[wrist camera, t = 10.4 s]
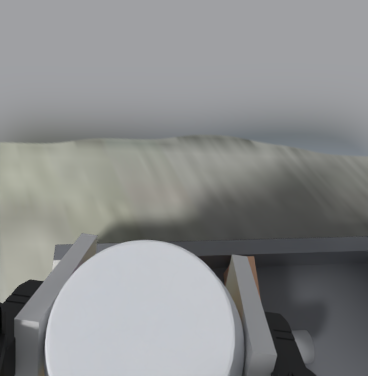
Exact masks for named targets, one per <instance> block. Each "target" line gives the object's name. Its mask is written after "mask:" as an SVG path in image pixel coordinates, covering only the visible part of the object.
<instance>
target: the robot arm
mask: <svg viewBox="0 0 368 376" xmlns="http://www.w3.org/2000/svg"><path fill="white" fill-rule="evenodd" d="M97 236H98V235H91V234H84V233H82V234H81V235H80V237H79V238H78V239H77V240H76V242H75V243H74V244H73V245H72V247H71V248H70V249H69V250H68V252H67V253H66V254H65V255H64V257H63V258H62V259H61V260H60V262H59V263H58V264H57V266H56V267H55V268H54V269H53V271H52V272H51V273H50V274H49V276H48V277H47V278H46V279H45V281H37V280H28V281H26V282H25V283H23V284H21V285H19V286H18V287H17V288H16V289H15V290H14V292H13V293H12V294H11V295H10V296H9V297H8V298H7V299H6V301H5V302H4V303H3V304H2V303H0V376H45V375H44V347H45V339H46V329H47V325H48V320H49V317H50V313H51V310H52V307H53V305H54V302H55V300H56V298H57V296H58V294H59V292H60V291H61V289H62V288H63V286H64V284H65V283H66V282H67V280H68V279H69V278H70V277H71V275H72V274H73V273H74V272H75V271H76V270H77V269H78V268H79V267H80V266H81V265H82V264H83V263H85V262H86V261H87V260H88V259H90V258H91V257H93V256H94V255H96V249H97ZM226 288H227V290H228V292H229V293H230V295H231V297H232V299H233V301H234V303H235V305H236V308H237V310H238V313H239V316H240V319H241V323H242V328H243V334H244V345H245V354H244V367H243V373H242V376H316V375H315V374H314V373H313V372H312V371H311V370H309V369H308V368H306V366H305V363H304V361H303V358H302V356H301V353H300V351H299V348H298V346H297V343H296V341H295V338H294V336H293V334H292V330H291V328H290V325H289V323H288V322H287V321H286V319H285V318H284V317H283V316H282V315H281V314H279V313H272V312H265V311H264V310H263V307H262V304H261V300H260V297H259V294H258V291H257V287H256V284H255V281H254V277H253V274H252V271H251V267H250V264H249V261H248V258H247V256H240V255H233V254H232V256H231V261H230V266H229V272H228V277H227V282H226Z"/></svg>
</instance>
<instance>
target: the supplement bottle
mask: <svg viewBox="0 0 368 376" xmlns="http://www.w3.org/2000/svg"><path fill="white" fill-rule="evenodd" d="M244 354H245V345H244V334H243V328H242V323H241V319H240V316H239V313H238V310H237V308H236V305H235V303H234V301H233V299H232V297H231V295H230V293H229V292H228V290H227V288H226V287H225V286H224V284H223V283H222V282H221V280H220V279H219V278H218V277H217V276H216V274H215V273H214V272H213V271H212V270H211V269H210V268H209V267H208V266H207V265H206V264H205V263H204V262H203V261H202V260H201V259H200V258H198V257H197V256H196V255H194V254H193V253H191V252H189V251H188V250H186V249H184V248H182V247H180V246H177V245H174V244H171V243H168V242H163V241H157V240H135V241H128V242H124V243H120V244H117V245H114V246H111V247H109V248H106V249H104V250H102V251H100V252H99V253H97V254H96V255H94V256H93V257H91V258H90V259H88V260H87V261H86V262H85V263H83V264H82V265H81V266H80V267H79V268H78V269H77V270H76V271H75V272H74V273H73V274H72V275H71V277H70V278H69V279H68V280H67V282H66V283H65V284H64V286H63V288H62V289H61V291H60V292H59V294H58V296H57V298H56V300H55V302H54V305H53V307H52V310H51V313H50V317H49V320H48V325H47V329H46V339H45V347H44V375H45V376H242V373H243V367H244Z"/></svg>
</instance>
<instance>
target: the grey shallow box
mask: <svg viewBox="0 0 368 376" xmlns="http://www.w3.org/2000/svg"><path fill="white" fill-rule="evenodd" d="M168 243H171V244H174V245H177V246H180V247H182V248H184V249H186V250H188V251H189V252H191V253H193V254H194V255H196V256H197V257H198V258H200V259H201V260H202V261H203V262H204V263H205V264H206V265H207V266H208V267H209V268H210V269H211V270H212V271H213V272H214V273H215V274H216V276H217V277H218V278H219V279H220V280H221V282H222V283H223V284H224V275H223V274H224V272H225V271H226V269H227V268H228V266H229V265H230V261H231V256H232V254H233V255H240V256H254V259H255V266H256V272H257V279H258V285H259V292H260V298H261V304H262V307H263V310H264V311H265V312H272V313H279V314H281V315H282V316H283V317H284V318H285V319H286V321H287V322H288V323H289V325H290V328H291V330H292V331H296V330H306V331H308V333H309V334H310V336H311V338H312V341H313V345H314V361H313V362H312V363H305V366H306V368H308V369H309V370H311V371H312V372H313V373H314V374H315V375H316V376H368V236H362V237H325V238H288V239H251V240H214V241H177V242H168ZM117 244H120V243H103V244H97V249H96V254H97V253H99V252H100V251H102V250H104V249H106V248H109V247H111V246H114V245H117ZM72 245H73V244H66V245H55V253H54V261H53V268H52V271H53V269H54V268H55V267H56V266H57V264H58V263H59V262H60V260H61V259H62V258H63V257H64V255H65V254H66V253H67V252H68V250H69V249H70V248H71V247H72ZM224 286H225V284H224Z"/></svg>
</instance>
